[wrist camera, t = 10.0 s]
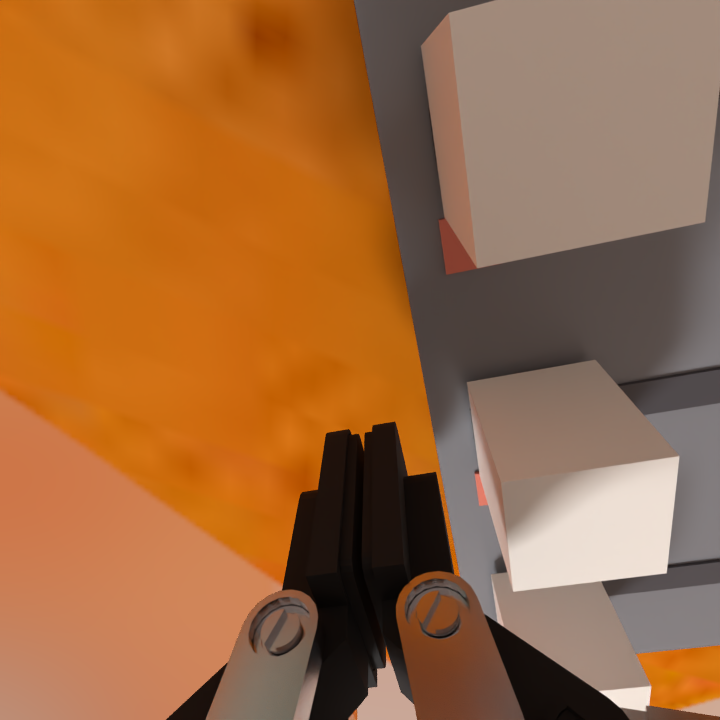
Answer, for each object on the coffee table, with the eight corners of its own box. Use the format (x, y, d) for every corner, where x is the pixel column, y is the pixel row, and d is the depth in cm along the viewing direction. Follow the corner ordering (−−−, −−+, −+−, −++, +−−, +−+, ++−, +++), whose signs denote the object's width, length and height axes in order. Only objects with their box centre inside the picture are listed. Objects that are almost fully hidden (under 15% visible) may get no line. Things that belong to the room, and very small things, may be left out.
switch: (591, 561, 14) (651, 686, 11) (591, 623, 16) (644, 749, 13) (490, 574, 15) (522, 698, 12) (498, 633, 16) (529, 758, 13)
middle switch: (595, 359, 11) (679, 456, 8) (594, 458, 13) (666, 573, 10) (466, 381, 12) (500, 482, 9) (479, 475, 13) (513, 591, 10)
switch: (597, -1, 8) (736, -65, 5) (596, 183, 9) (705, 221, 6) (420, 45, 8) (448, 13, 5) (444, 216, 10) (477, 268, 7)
